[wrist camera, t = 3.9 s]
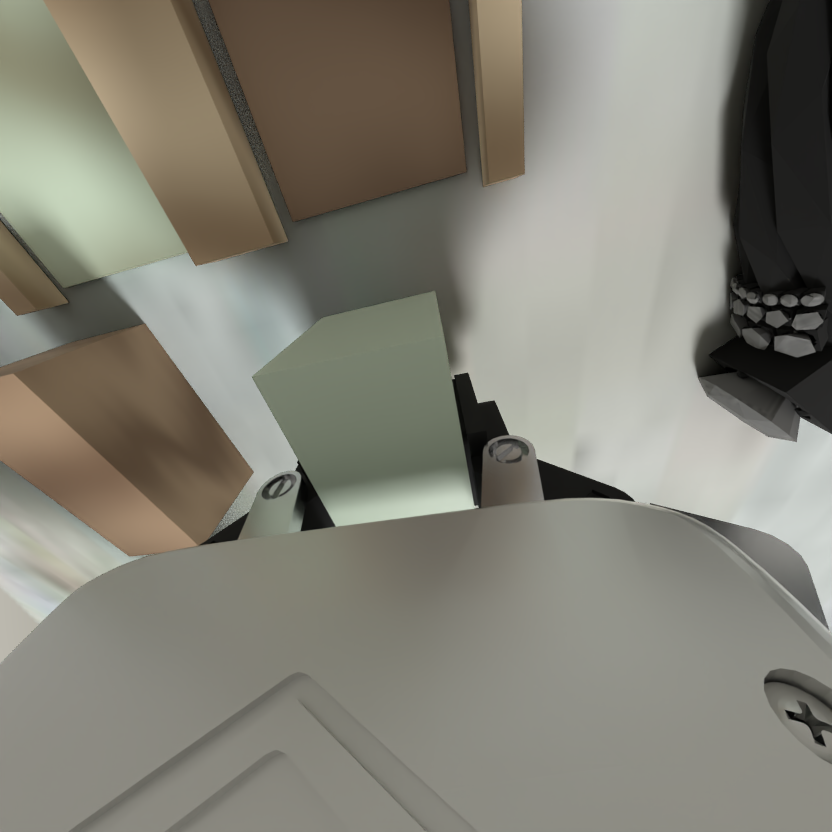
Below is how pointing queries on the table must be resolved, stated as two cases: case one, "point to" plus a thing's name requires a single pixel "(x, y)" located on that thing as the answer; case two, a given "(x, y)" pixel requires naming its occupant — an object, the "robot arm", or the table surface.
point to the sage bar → (373, 412)
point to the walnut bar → (120, 441)
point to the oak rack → (228, 123)
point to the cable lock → (783, 230)
